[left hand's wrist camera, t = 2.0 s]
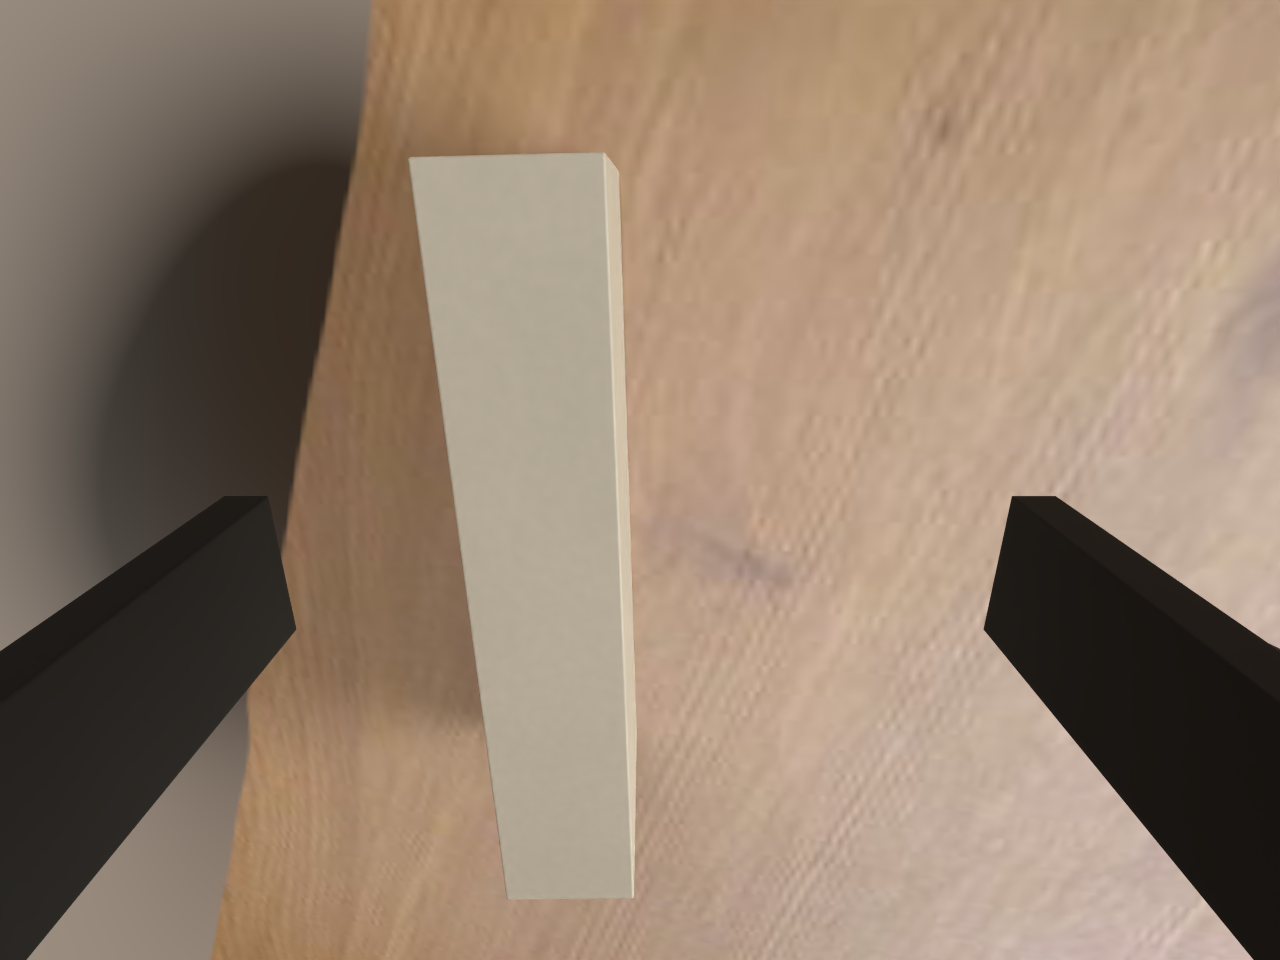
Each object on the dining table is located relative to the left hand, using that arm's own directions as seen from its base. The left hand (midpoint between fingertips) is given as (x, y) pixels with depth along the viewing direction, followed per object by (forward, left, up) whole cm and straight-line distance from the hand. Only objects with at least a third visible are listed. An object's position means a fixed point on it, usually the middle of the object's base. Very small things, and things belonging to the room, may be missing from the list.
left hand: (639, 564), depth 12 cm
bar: (+7, 0, -17) cm, 19 cm away
